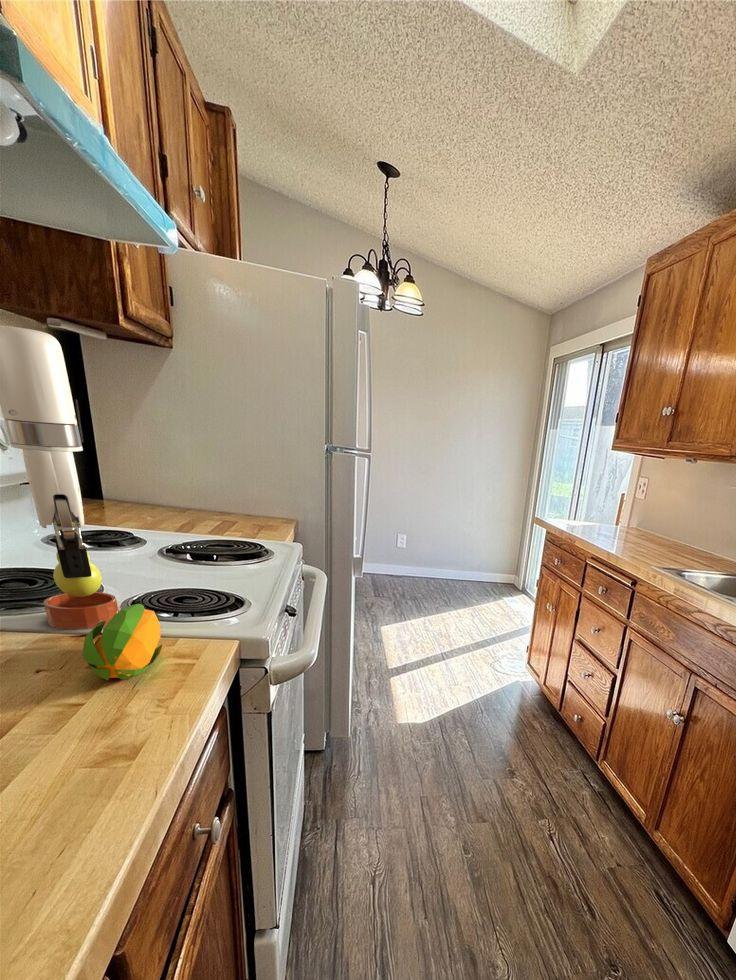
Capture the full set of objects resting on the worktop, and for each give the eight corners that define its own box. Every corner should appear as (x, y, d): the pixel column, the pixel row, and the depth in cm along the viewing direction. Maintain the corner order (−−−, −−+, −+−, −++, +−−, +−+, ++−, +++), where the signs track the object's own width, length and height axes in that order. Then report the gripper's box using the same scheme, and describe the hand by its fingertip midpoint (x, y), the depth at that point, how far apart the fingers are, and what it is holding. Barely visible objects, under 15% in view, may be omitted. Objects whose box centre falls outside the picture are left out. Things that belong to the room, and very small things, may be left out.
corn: (64, 634, 63) (113, 586, 80) (73, 694, 66) (119, 635, 83) (141, 637, 66) (172, 590, 83) (146, 695, 69) (176, 637, 86)
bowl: (52, 641, 79) (44, 611, 77) (49, 622, 85) (42, 594, 83) (124, 633, 84) (119, 605, 82) (117, 616, 90) (112, 589, 88)
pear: (59, 603, 79) (43, 539, 75) (57, 592, 83) (42, 531, 79) (107, 599, 82) (94, 538, 78) (103, 589, 86) (90, 530, 82)
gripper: (8, 430, 77) (41, 559, 84) (7, 440, 65) (46, 589, 73) (75, 434, 81) (101, 557, 89) (86, 444, 70) (114, 585, 77)
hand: (76, 570), depth 81 cm, fingers closed on pear, 5 cm apart
